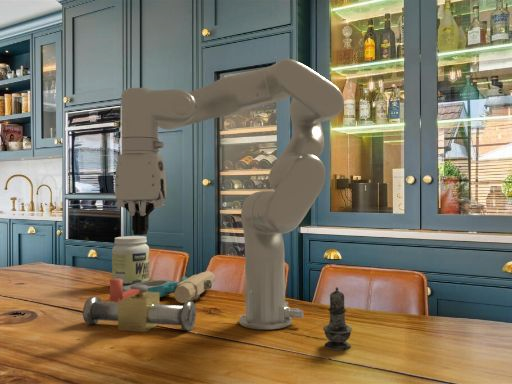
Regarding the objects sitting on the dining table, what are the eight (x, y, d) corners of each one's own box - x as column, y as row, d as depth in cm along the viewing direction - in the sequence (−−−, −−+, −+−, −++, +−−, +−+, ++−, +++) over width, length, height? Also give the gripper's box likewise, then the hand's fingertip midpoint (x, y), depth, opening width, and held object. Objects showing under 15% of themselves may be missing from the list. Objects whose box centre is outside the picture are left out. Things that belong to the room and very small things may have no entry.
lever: (135, 289, 110) (135, 269, 110) (150, 290, 110) (150, 270, 110) (104, 302, 98) (104, 280, 98) (121, 303, 97) (121, 281, 97)
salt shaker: (332, 339, 97) (331, 282, 97) (357, 345, 93) (356, 286, 93) (317, 346, 93) (316, 287, 93) (343, 353, 89) (342, 291, 89)
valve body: (196, 325, 108) (196, 291, 108) (185, 334, 102) (184, 298, 102) (99, 319, 115) (98, 287, 115) (82, 327, 108) (81, 293, 108)
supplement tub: (136, 292, 145) (136, 239, 145) (104, 290, 149) (103, 238, 149) (156, 285, 157) (156, 235, 157) (126, 283, 160) (125, 235, 160)
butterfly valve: (96, 316, 128) (198, 308, 122) (94, 292, 128) (195, 282, 122) (139, 295, 154) (224, 288, 148) (137, 275, 154) (222, 266, 148)
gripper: (179, 148, 99) (180, 233, 99) (117, 150, 102) (118, 232, 102) (164, 145, 91) (165, 236, 91) (98, 147, 95) (99, 235, 95)
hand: (140, 234), depth 97 cm, fingers closed
